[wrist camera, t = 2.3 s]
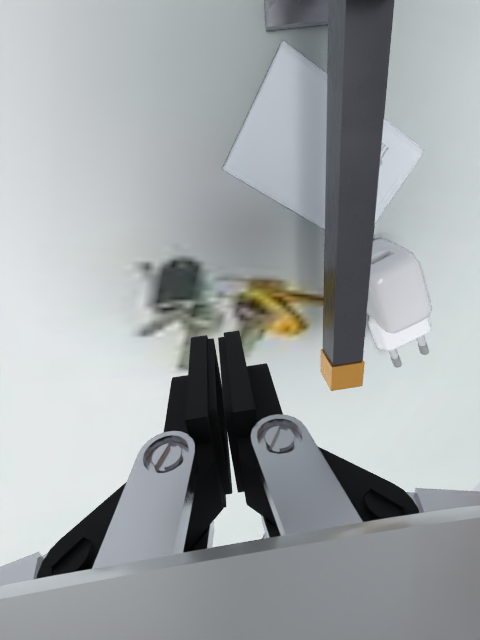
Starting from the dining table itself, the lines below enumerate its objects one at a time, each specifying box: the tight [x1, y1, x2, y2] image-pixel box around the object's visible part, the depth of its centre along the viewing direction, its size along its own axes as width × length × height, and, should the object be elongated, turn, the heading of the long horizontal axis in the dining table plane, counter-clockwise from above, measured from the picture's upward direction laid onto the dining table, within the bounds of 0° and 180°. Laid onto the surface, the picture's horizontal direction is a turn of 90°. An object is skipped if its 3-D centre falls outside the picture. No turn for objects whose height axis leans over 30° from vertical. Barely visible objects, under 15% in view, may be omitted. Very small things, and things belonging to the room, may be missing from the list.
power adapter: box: [367, 239, 432, 368], centre depth 27 cm, size 11×5×6 cm, turn 28°
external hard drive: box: [222, 41, 424, 229], centre depth 23 cm, size 2×8×12 cm
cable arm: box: [321, 0, 394, 391], centre depth 16 cm, size 26×4×4 cm, turn 6°
